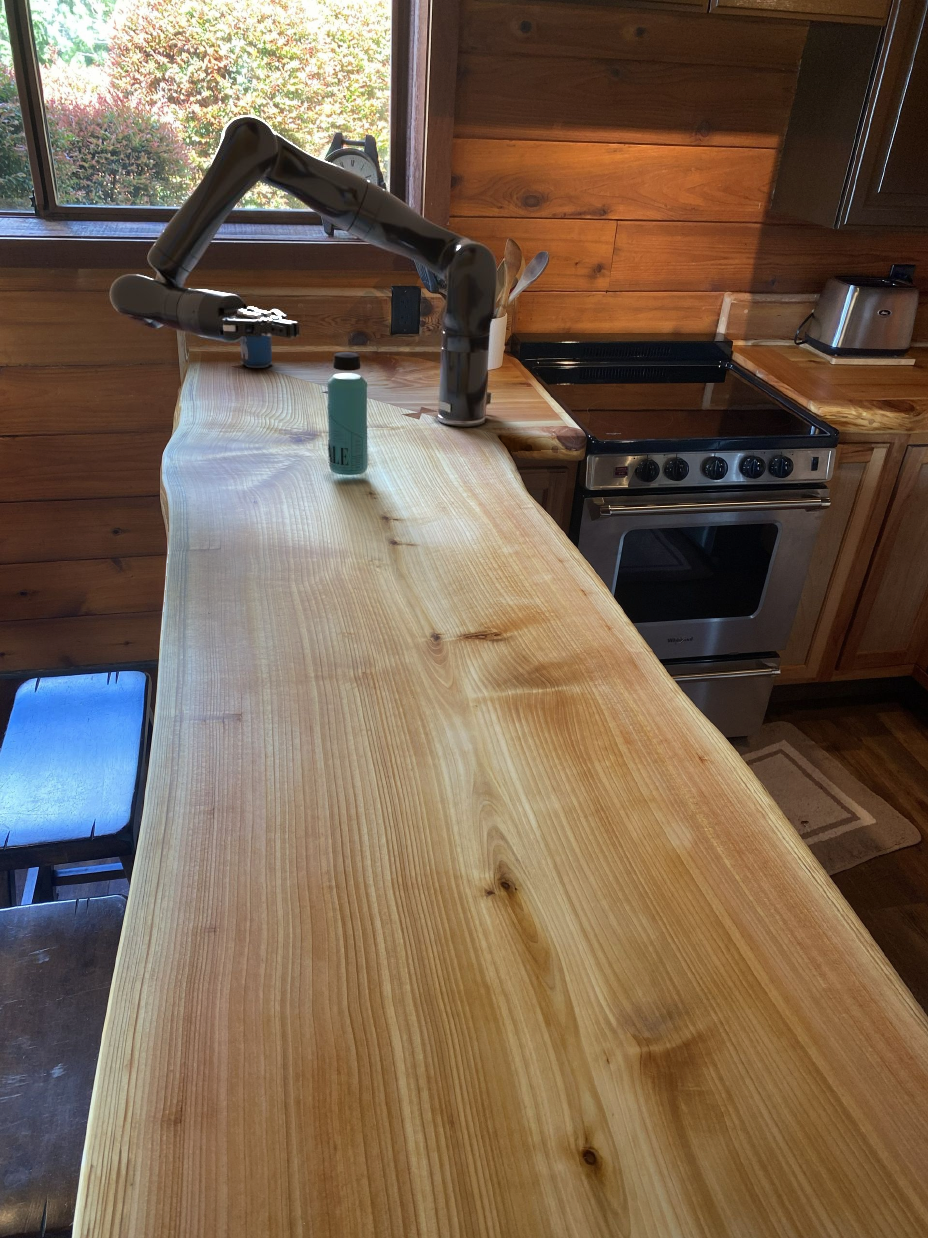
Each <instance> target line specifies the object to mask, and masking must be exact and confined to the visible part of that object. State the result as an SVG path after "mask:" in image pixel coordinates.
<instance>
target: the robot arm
mask: <svg viewBox="0 0 928 1238" xmlns="http://www.w3.org/2000/svg"><path fill="white" fill-rule="evenodd" d="M259 182H261V183H263V184H265V185H267V186H270V187H272V188H275V189H277V190H279V191H282V192H283V193H285V194H288V195H290V196H291V197H293V198H295V199H297V200H298V201H300V202H301V203H302V204H304V205H305V206H306V207H308V208H309V209H311V210H312V211H313V212H315V213H317V214H318V215H319V216H320V217H322V218H323V219H324V220H326V221H328V222H329V223H331V224H333V225H334V226H336V227H337V228H339V229H340V230H342V231H344V232H346V233H347V234H350V235H352V236H353V237H355V238H357V239H359V240H361V241H363V242H365V243H367V244H370V245H371V246H374V247H377V248H379V249H381V250H384V251H387V252H390V253H392V254H396V255H399V256H402V257H405V258H407V259H410V260H412V261H414V262H416V263H417V264H419V265H420V266H422V267H423V268H425V269H427V270H428V271H430V272H431V273H433V274H434V275H435V276H437V277H438V278H440V279H441V280H443V281H444V282H445V283H446V296H445V297H446V299H445V309H444V313H443V314H442V317H441V329H440V330H441V331H440V334H441V335H440V359H439V384H438V385H439V387H438V402H437V410H438V411H437V420H438V421H439V422H440V423H442V424H444V425H447V426H452V427H463V428H465V427H466V428H468V427H477V426H481V425H483V424H484V423H485V422H486V417H487V407H488V405H490V404H491V400H492V392H490V391H488V383H489V370H488V368H489V367H488V366H489V356H490V355H489V353H490V337H491V334H490V333H491V325H492V321H493V318H494V316H495V307H496V306H495V305H496V298H497V297H496V295H497V284H498V263H497V261H496V260H497V259H496V257H495V255H494V253H493V252H492V250H491V249H490V248H489V247H487V246H486V245H485V244H482V243H481V242H479V241H477V240H474V239H472V238H469V237H466V236H463V235H460V234H458V233H455V232H453V231H450V230H448V229H446V228H444V227H442V226H440V225H438V224H435V223H433V222H431V221H430V220H429V219H427V218H425V217H423V215H421V214H420V213H419V212H417V210H415V209H414V208H412V206H410V205H408V204H407V203H406V202H404V201H403V200H401V199H400V198H399V197H397V196H396V195H394V194H393V193H391V192H390V191H388V190H387V189H385V188H383V187H381V186H379V185H378V184H377V183H374V182H373V181H371V180H368V178H365V177H364V176H361V175H359V174H357V173H355V172H353V171H350V170H349V169H346V168H343V167H342V166H339V165H336V164H334V163H331V162H328V161H326V160H323V159H320V158H318V157H316V156H314V155H312V154H310V153H308V152H306V151H304V150H302V149H301V148H299V147H298V146H297V145H295V144H293V143H292V142H291V141H289V140H287V139H286V138H284V137H283V136H282V135H280V134H279V133H277V132H276V131H274V129H272V127H271V126H270V125H269V124H268V123H267V122H265V120H263V119H261V118H260V117H258V116H253V115H248V114H247V115H240V116H237V117H234V118H233V119H232V120H230V121H229V122H228V123H226V126H225V127H224V128H223V131H222V133H221V137H220V143H219V146H218V148H217V149H216V152H215V155H214V157H213V159H212V161H211V163H210V165H209V167H208V168H207V171H206V173H205V174H204V175H203V177H202V179H201V180H200V182H199V183H198V184H197V186H196V188H195V189H194V191H192V193H191V194H190V196H189V197H188V198H187V200H186V201H185V202H184V203H183V204H182V205H181V206H180V208H179V209H178V210H177V212H175V214H174V215H173V217H172V218H171V219H170V221H169V222H168V223H167V225H166V226H165V228H164V229H163V230H162V231H161V233H160V234H159V236H158V237H157V239H156V240H155V242H154V243H153V245H152V246H151V248H150V249H149V251H148V254H147V257H146V259H147V262H148V264H149V265H150V266H151V267H152V268H153V270H154V271H155V272H156V275H155V276H156V277H155V279H154V278H150V277H148V276H144V275H141V274H136V273H135V274H134V273H127V274H123V275H121V276H119V277H118V278H116V279H115V280H114V281H113V282H112V284H111V286H110V289H109V299H110V303H111V305H112V307H113V308H114V309H115V310H116V311H117V312H118V313H119V314H120V315H122V316H123V317H126V318H127V319H130V320H132V322H135V323H137V324H139V325H141V326H143V327H145V328H146V329H150V330H157V329H159V328H161V327H163V326H165V327H167V328H169V329H171V330H175V331H179V332H184V333H187V334H188V333H189V334H192V335H195V336H198V337H201V338H206V339H210V340H216V341H220V342H226V343H237V342H238V341H240V339H241V338H242V337H257V338H260V337H262V335H265V336H269V337H270V336H271V337H273V336H276V337H279V338H280V337H281V338H286V339H293V338H296V337H299V336H300V323H299V322H298V321H295V320H290V319H289V320H288V319H287V314H285V313H284V312H282V311H281V310H279V309H277V308H273V309H271V310H270V311H267V310H265V311H262V310H263V309H259V308H258V307H254V306H247V304H246V303H245V300H244V299H242V298H241V297H240V296H239V295H237V294H234V293H227V292H221V291H215V290H209V289H203V288H202V289H201V288H200V289H199V288H198V289H197V288H195V289H194V288H188V287H184V285H185V283H186V279H187V277H188V276H189V275H190V274H191V272H192V270H193V269H194V268H195V267H196V265H197V264H198V262H199V261H200V259H201V258H202V256H203V255H204V253H205V252H206V250H207V249H208V247H209V246H210V244H211V243H212V241H213V240H214V238H215V236H216V235H217V233H218V231H219V230H220V228H221V227H222V225H223V224H224V223H225V221H226V219H227V218H228V216H229V215H230V213H231V212H232V211H233V210H234V208H235V207H236V206H237V205H238V204H239V202H240V201H241V200H242V199H243V198H244V196H246V194H247V193H248V192H250V190H251V189H252V188H253V187H254V186H255V185H256V184H257V183H259Z"/></svg>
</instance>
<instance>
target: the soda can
mask: <svg viewBox="0 0 928 1238" xmlns="http://www.w3.org/2000/svg"><path fill="white" fill-rule="evenodd" d="M261 310H262V311H266V310H264V309H261ZM239 341H240V357H241V361H242V364H244V366H245V367H248V368H253V369H260V368H261V369H262V368H267V367H269V366H270V365H271V363H272V360H273V351H272V336H270V337H269V336H265V335H262V337H260V338H257V337H242V338H241V339H240V340H239Z"/></svg>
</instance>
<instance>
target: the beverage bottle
mask: <svg viewBox="0 0 928 1238" xmlns="http://www.w3.org/2000/svg"><path fill="white" fill-rule="evenodd" d="M360 357H361V356H360V355H359V354H358V353H357V352H356V353H355V352H349V351H341V352H340V351H339V352H335V354H334V356H333V364H332V365H333V369H335V370H338V371H345V372H340V373H335V374H334V375H333V376H332V377H330V378H329V379H328V380H327V383H326V386H327V399H326V400H327V406H326V408H327V411H326V414H327V416H326V417H327V423H328V431H327V434H328V440H327V443H328V444H327V451H328V452H327V453H328V456H327V457H328V458H327V459H328V467H329V469H330V471H331V472H333V473H335V474H337V475H341V476H356V475H360V474H361V475H362V474H363V473H366V472H367V470H368V466H369V459H368V458H369V452H368V450H369V447H368V382H367V380H365V379H364V377H362V376H361V375H359V374H357V373H352V371H357V370H360V369H361V358H360ZM346 371H349V372H346ZM350 371H351V372H350Z"/></svg>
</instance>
